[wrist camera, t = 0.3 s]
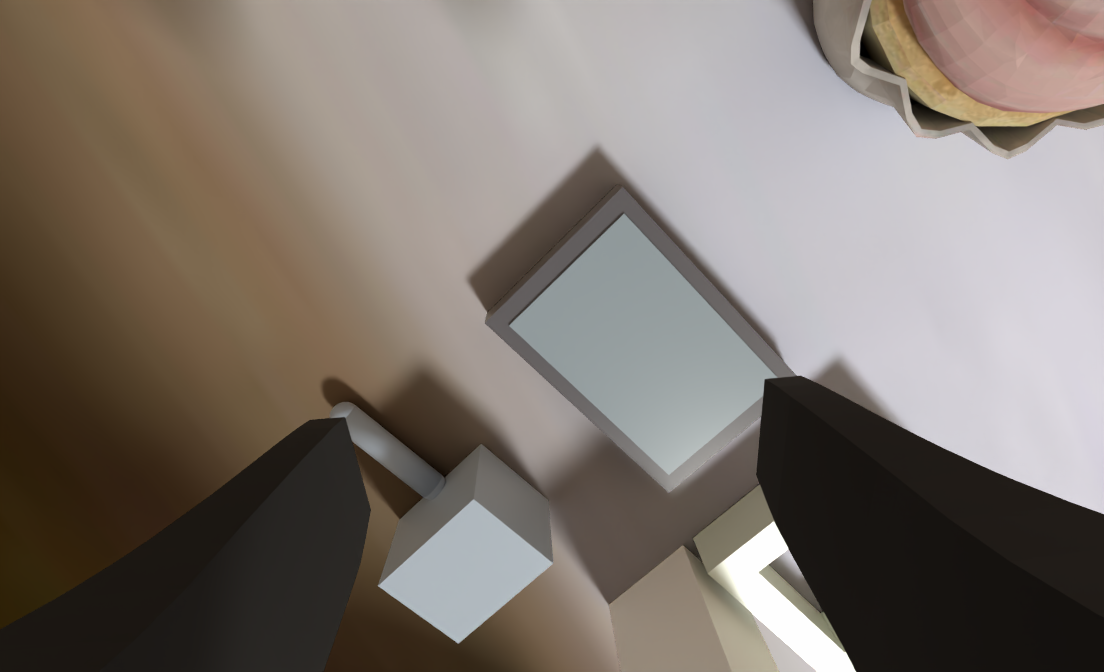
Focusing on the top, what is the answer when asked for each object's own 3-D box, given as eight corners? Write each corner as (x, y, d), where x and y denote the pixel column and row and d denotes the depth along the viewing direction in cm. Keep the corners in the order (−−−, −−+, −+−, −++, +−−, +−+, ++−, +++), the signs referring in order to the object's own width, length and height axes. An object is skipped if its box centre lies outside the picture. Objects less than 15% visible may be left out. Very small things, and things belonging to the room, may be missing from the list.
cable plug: (467, 571, 23) (458, 643, 20) (297, 442, 21) (256, 498, 18) (548, 500, 22) (553, 563, 19) (380, 358, 20) (352, 401, 17)
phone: (661, 475, 22) (669, 494, 21) (487, 312, 20) (484, 323, 19) (787, 369, 21) (803, 382, 20) (616, 184, 19) (623, 186, 18)
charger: (672, 657, 25) (721, 828, 19) (608, 604, 24) (637, 766, 18) (746, 601, 24) (821, 760, 18) (682, 544, 23) (739, 692, 17)
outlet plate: (867, 696, 26) (895, 741, 24) (692, 538, 23) (707, 574, 21) (1024, 589, 25) (1067, 628, 23) (858, 404, 22) (891, 430, 20)
